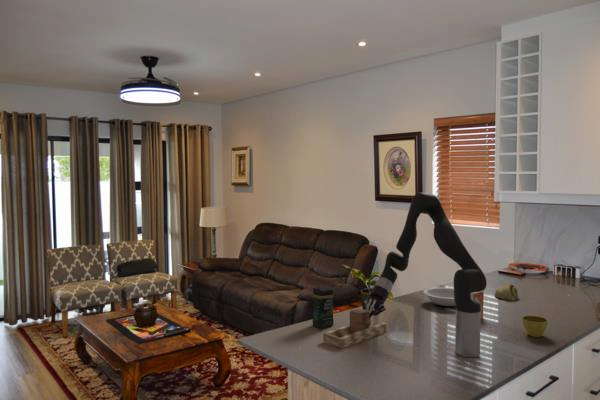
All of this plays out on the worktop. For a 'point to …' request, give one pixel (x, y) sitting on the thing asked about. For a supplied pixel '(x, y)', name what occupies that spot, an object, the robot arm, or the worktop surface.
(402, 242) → the robot arm
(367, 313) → the walnut block
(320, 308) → the coffee jar
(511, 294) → the pastry
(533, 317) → the flower pot
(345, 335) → the birch chute
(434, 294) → the soup bowl
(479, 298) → the small box
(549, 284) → the worktop surface
